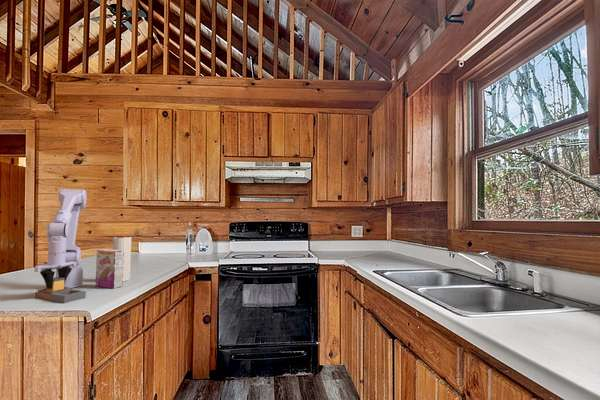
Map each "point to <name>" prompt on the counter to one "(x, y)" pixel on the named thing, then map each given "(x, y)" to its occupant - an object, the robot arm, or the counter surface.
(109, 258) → the candy bar box
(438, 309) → the counter surface
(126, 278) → the paper towel roll
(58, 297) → the lower socket
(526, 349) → the counter surface
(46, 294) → the upper socket
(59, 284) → the plug
